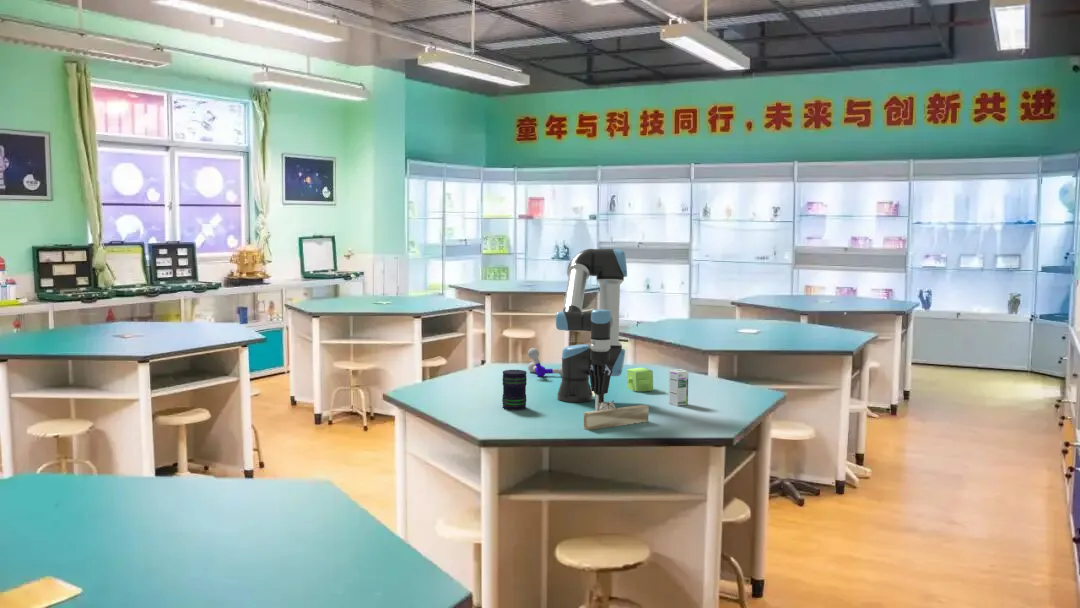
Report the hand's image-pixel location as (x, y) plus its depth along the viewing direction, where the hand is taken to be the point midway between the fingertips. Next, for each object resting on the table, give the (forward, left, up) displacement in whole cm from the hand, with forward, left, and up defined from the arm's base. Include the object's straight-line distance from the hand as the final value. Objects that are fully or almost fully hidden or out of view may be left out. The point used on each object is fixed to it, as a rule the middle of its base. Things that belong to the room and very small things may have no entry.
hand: (599, 410), depth 335 cm
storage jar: (-34, -18, -4) cm, 38 cm away
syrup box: (-7, +46, -4) cm, 47 cm away
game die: (+5, 0, -4) cm, 6 cm away
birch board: (+11, 0, -3) cm, 12 cm away
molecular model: (-92, +36, -4) cm, 99 cm away
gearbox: (-42, +52, -4) cm, 67 cm away
